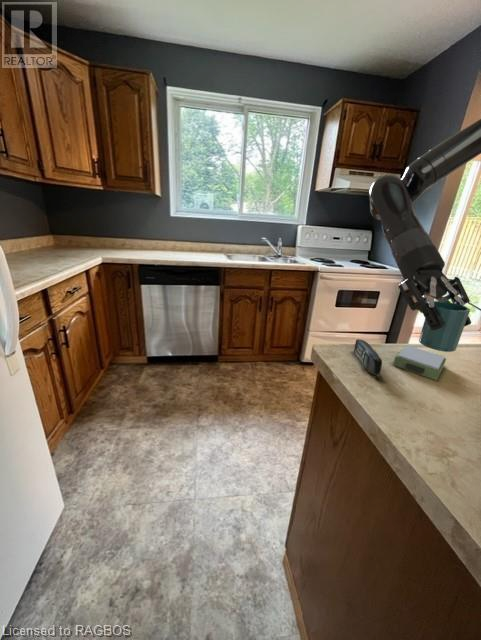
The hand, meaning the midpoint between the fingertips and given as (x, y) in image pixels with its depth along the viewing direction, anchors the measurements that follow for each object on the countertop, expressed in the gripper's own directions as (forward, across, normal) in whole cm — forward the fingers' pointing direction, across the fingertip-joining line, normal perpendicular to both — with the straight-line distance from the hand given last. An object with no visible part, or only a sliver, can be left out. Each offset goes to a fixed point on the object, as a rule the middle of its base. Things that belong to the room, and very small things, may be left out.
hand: (452, 326), depth 51 cm
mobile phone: (+1, -1, +25) cm, 25 cm away
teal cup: (+2, 0, +4) cm, 5 cm away
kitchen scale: (+3, +14, +22) cm, 27 cm away
